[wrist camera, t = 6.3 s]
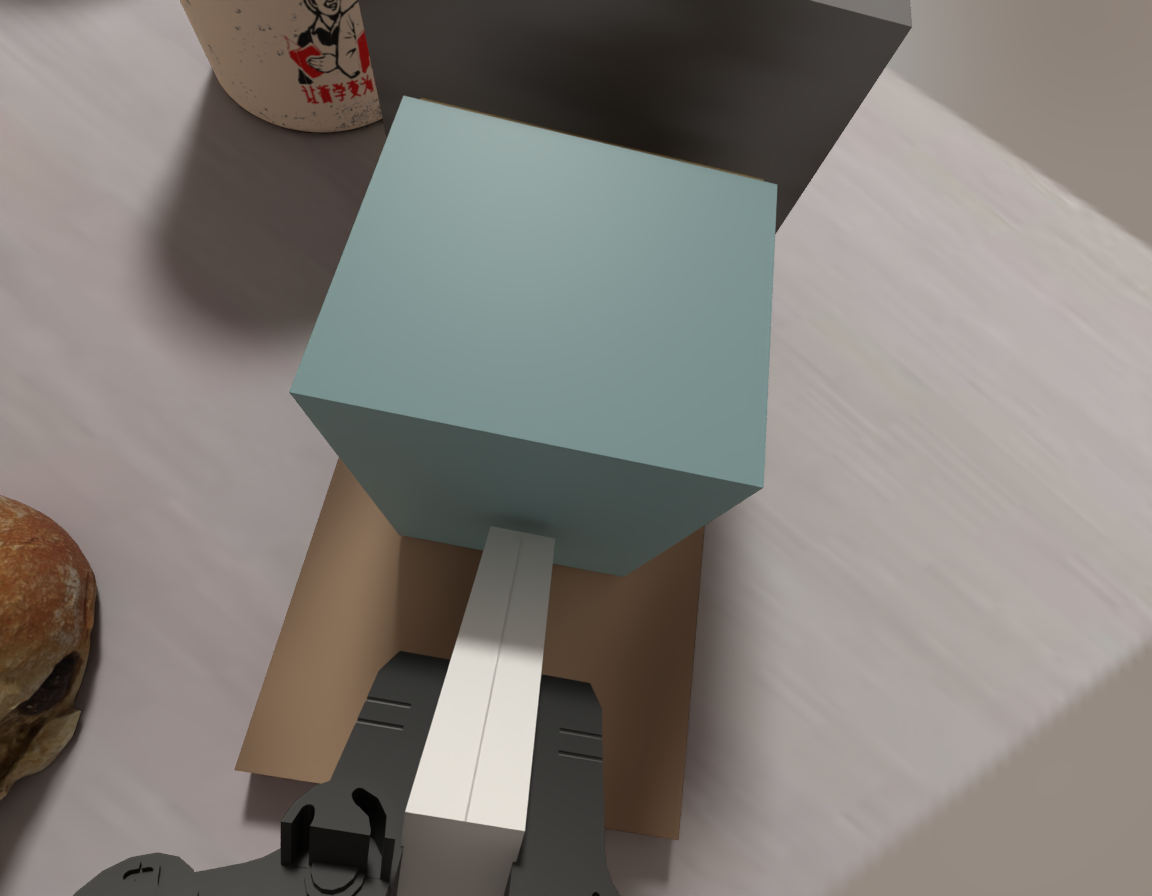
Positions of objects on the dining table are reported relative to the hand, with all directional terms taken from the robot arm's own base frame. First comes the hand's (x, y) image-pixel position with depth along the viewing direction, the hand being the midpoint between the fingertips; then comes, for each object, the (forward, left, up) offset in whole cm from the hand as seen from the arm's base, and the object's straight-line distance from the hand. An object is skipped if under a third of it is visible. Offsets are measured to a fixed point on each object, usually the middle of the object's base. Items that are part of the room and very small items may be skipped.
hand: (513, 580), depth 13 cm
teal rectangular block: (0, +4, -4) cm, 6 cm away
